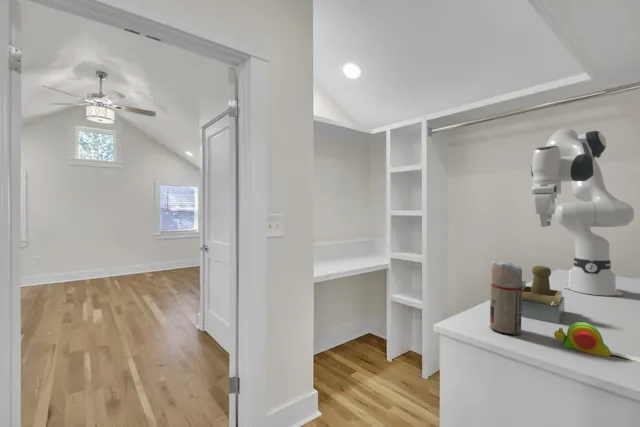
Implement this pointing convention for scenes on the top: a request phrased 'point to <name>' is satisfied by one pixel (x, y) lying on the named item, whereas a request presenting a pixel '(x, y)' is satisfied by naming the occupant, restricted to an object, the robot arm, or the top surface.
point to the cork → (541, 280)
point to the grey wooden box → (542, 305)
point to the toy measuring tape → (587, 340)
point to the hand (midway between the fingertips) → (545, 226)
